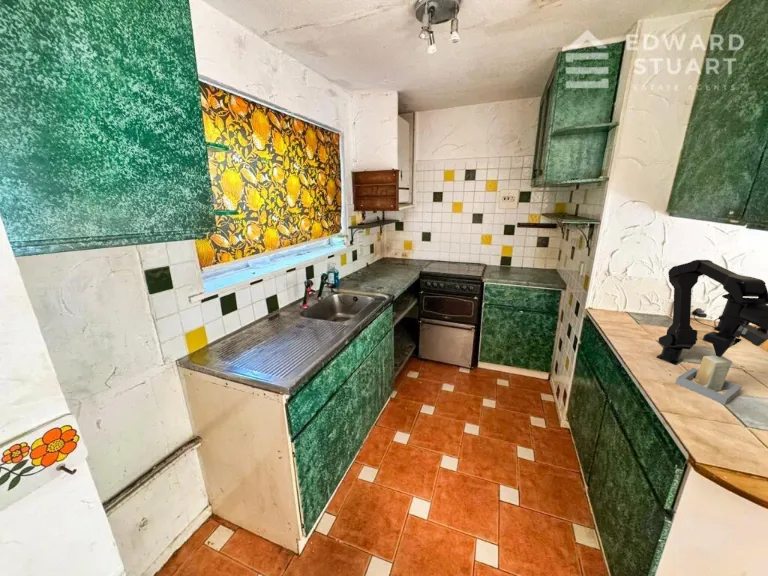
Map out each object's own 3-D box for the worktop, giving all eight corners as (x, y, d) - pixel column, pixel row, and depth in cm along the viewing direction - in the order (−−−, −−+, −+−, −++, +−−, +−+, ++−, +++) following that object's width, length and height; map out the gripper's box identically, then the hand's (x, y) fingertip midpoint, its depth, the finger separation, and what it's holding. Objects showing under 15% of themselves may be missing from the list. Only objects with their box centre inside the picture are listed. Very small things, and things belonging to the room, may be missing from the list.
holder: (691, 372, 117) (693, 367, 116) (739, 392, 106) (742, 386, 105) (675, 383, 112) (677, 377, 111) (724, 404, 101) (727, 398, 100)
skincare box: (708, 383, 111) (719, 354, 107) (721, 391, 107) (734, 361, 103) (691, 384, 111) (702, 355, 107) (704, 392, 107) (716, 362, 103)
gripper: (762, 331, 89) (742, 376, 94) (782, 318, 97) (763, 360, 102) (710, 317, 98) (694, 359, 103) (732, 306, 106) (717, 345, 111)
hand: (718, 356), depth 105 cm, fingers closed
